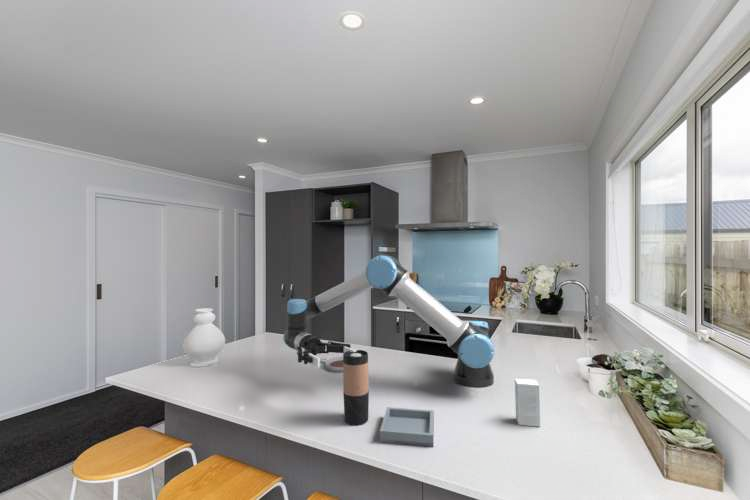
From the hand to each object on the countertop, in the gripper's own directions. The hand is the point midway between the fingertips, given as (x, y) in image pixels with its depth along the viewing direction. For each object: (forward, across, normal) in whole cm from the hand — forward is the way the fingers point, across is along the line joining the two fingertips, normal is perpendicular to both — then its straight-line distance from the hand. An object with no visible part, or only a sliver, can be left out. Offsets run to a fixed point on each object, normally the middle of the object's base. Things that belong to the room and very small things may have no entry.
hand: (337, 358), depth 110 cm
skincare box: (+43, -38, -16) cm, 60 cm away
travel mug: (+10, 0, -16) cm, 19 cm away
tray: (+25, -8, -16) cm, 31 cm away
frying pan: (-38, -21, -17) cm, 47 cm away
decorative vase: (-80, +24, -17) cm, 85 cm away
